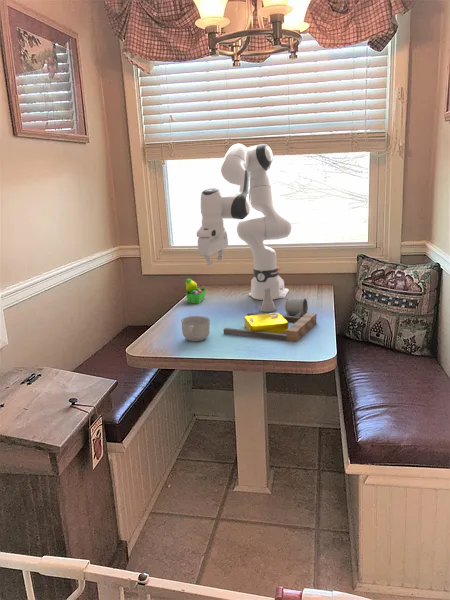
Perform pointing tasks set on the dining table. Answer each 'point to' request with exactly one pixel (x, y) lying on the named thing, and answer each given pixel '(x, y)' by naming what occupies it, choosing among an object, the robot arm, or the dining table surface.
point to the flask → (267, 302)
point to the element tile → (266, 323)
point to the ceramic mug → (296, 306)
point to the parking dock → (291, 334)
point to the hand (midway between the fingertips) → (215, 262)
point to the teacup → (195, 328)
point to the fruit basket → (194, 292)
